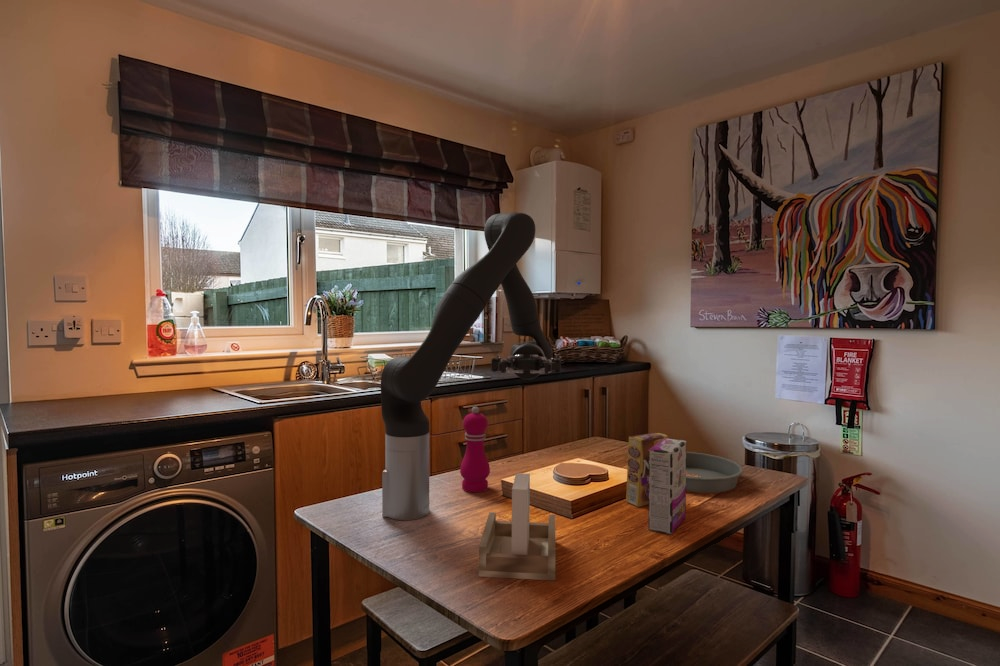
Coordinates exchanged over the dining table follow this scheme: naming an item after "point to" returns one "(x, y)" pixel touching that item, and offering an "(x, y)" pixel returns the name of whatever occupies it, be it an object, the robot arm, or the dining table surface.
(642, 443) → the candy box
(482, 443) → the pepper mill
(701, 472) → the cake pan
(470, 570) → the dining table surface
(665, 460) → the candy bar box
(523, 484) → the place card sign
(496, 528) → the brown wooden tray
